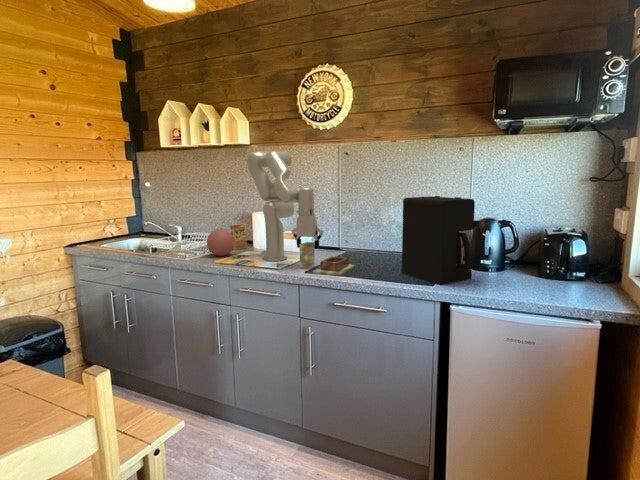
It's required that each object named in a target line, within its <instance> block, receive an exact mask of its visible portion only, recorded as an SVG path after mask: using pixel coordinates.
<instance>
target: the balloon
mask: <svg viewBox="0 0 640 480" xmlns="http://www.w3.org/2000/svg"><path fill="white" fill-rule="evenodd" d="M206 238H207V239H206V247H207V250H208V251H209V252H210V253H211V254H213V255H215V256H217V257H225V256H227V255H229V254H230V253H231V252H232V251H233V250H234V249H233V248H234V244H235V241H234V237H233V235H232V234H231V231H228V230H226V229H224V228H219V229H215V230H212V232H210V233H209V235H208V236H207V237H206Z"/></svg>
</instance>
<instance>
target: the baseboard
mask: <svg viewBox="0 0 640 480" xmlns="http://www.w3.org/2000/svg"><path fill="white" fill-rule="evenodd" d="M191 242H194V241H193V240H192V241H189V242H186V240H183V241H181V242H179V241H177V242H176V245H174V246H172V248H171V247H170V249H168V250H167V251H166V252H165V253H166V254H173V253H172V252H183V253H185V252H186V251H187V250H186V249H183V250H181V245H186V244H189V243H191ZM194 243H195V242H194ZM185 250H186V251H185ZM184 251H185V252H184Z"/></svg>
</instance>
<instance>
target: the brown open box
mask: <svg viewBox="0 0 640 480" xmlns="http://www.w3.org/2000/svg"><path fill="white" fill-rule="evenodd" d="M349 259H350V258H349V257H344V256H342V257H341V256H333V255H332V256H330V257H328V258H325V259H323V260H320V262H319V263H320V265H319V266H320V267H318V268H316V269H313V270H312V274H318V275H325V276H326V275H327V276H328V275H329V276H337V277H341V276H343V275H344V274H346V273H348V272H349V271H351V270H353V269H355V268H356V267H357V265H356V264H350V263H349Z"/></svg>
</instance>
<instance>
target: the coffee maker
mask: <svg viewBox="0 0 640 480" xmlns="http://www.w3.org/2000/svg"><path fill="white" fill-rule="evenodd" d="M475 206H476V203H475V200H474V199H473V198H463V197H461V196H460V197H457V196H456V197H444V196H440V195H434V196H415V197H414V196H413V197H404V199H403V200H402V237H401V238H402V243H401V244H402V245H401V248H402V250H401V274H403V275H406V276H409V277H412V276H413V278H415V277H416V279H418V280H423V281H426V282H428V281H429V282H428V283H431V284H436V285H438V286H443V285H448V284H453V283H458V282H464V281H468V280H472V252H471V245H470V242H469V239H468V235H467V233H465V231H472V230H473V228H474V223H475V209H476V208H475ZM462 245H463V248H462ZM463 252H464V253H463ZM463 254H464V256H463ZM463 257H464V263H463ZM467 279H468V280H467Z"/></svg>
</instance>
